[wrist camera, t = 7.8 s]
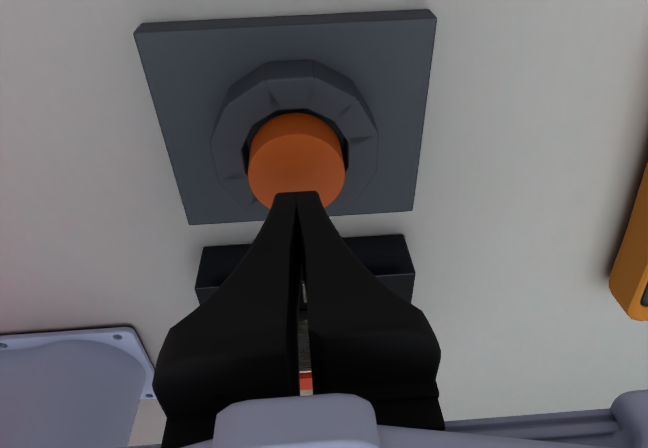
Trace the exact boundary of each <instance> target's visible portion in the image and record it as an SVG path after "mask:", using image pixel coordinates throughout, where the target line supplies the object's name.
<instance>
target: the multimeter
mask: <svg viewBox="0 0 648 448" xmlns="http://www.w3.org/2000/svg"><path fill="white" fill-rule="evenodd" d="M609 288H610V291H611V293H612V295H613V296H614V297H615V299H616V300H617V301H618V303H619V304H620V306H621V307H622V308H623V310H624V311H625V312H626V314H627V315H628V316H629V317H630V318H631V319H633V320H637V321H648V162H647V165H646V168H645V171H644V175H643V178H642V181H641V184H640V188H639V191H638V194H637V197H636V201H635V204H634V207H633V210H632V214H631V217H630V220H629V224H628V227H627V230H626V233H625V236H624V238H623V241H622V244H621V247H620V249H619V252H618V255H617V257H616V260H615V263H614V266H613V268H612V271H611V274H610V277H609Z"/></svg>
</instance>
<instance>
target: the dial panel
mask: <svg viewBox="0 0 648 448" xmlns="http://www.w3.org/2000/svg"><path fill="white" fill-rule="evenodd" d="M342 239H343V240H344V242H345V243H346V244H347V246H348V247H349V248H350V250H351V251H352V252H353V253H354V255H355V256H356V257H357V258H358V259H359V260H360V261H361V262H362V264H363V265H364V266H365V267H366V268H367V269H368V270H369V271H370V272H371V273H372V274H373V275H375V276H376V277H377V278H378V279H379V280H380V281H381V282H382V283H384V284H385V285H386V286H387V287H388V288H389V289H391V290H392V291H393V292H394V293H396V294H397V295H398V296H400V297H401V298H403V299H404V300H406V301H407V302H409V303H410V304H411V300H412V293H413V286H414V280H415V270H414V267H413V264H412V260H411V257H410V254H409V251H408V248H407V244H406V241H405V238H404V235H387V236H371V237H356V238H342ZM251 245H252V244H250V245H235V246H219V247H204V248H203V251H202V256H201V260H200V265H199V270H198V275H197V279H196V284H195V291H196V294H197V297H198V300H199V304H200V305H201V304H202V303H203V302H204V301H205V300H206V299H207V298H208V297H209V296H211V295H212V294H213V293H214V292H215V291H216V290H217V289H218V288H219V287H220V286H221V284H222V283H223V282H224V281H225V280H226V279H227V278H228V276H229V275H230V274H231V273H232V272H233V271H234V269H235V268H236V267H237V265H238V264H239V263H240V261H241V260H242V259H243V257H244V256H245V254H246V253H247V251H248V250H249V248H250V247H251ZM299 311H307V296H306V289H305V283H304V276H303V270H302V269H301V285H300V301H299Z"/></svg>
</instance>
